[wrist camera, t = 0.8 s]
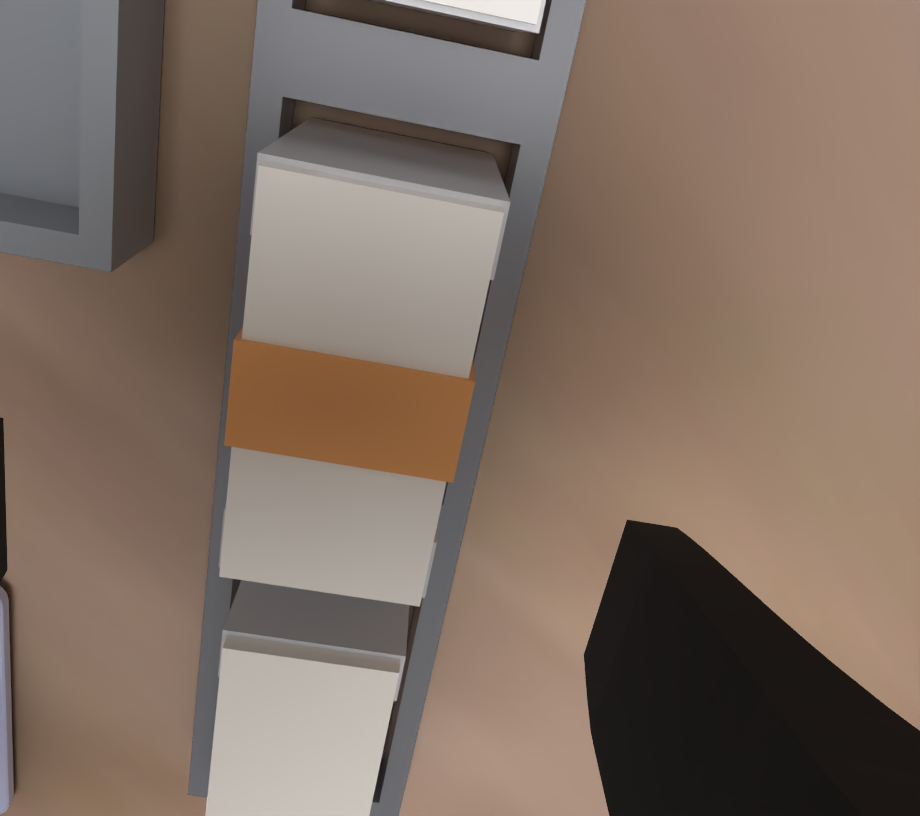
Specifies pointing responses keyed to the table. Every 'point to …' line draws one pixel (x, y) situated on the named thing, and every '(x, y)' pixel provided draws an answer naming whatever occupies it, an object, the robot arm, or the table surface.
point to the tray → (79, 128)
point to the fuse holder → (532, 133)
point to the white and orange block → (355, 357)
